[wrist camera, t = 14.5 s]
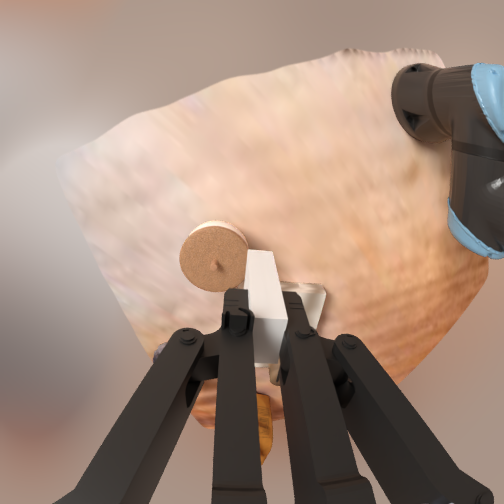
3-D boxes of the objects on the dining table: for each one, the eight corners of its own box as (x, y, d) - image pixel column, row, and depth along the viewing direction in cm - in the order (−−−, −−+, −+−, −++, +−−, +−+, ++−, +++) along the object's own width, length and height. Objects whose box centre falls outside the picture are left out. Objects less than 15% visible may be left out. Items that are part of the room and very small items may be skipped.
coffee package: (218, 405, 69) (215, 474, 49) (243, 384, 65) (245, 461, 45) (248, 415, 72) (250, 480, 52) (274, 395, 68) (282, 467, 48)
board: (321, 284, 53) (326, 294, 50) (301, 356, 61) (303, 367, 58) (238, 278, 52) (238, 288, 48) (231, 354, 60) (231, 365, 57)
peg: (285, 315, 56) (296, 370, 42) (281, 330, 57) (291, 386, 44) (265, 314, 55) (271, 370, 42) (262, 330, 57) (268, 385, 44)
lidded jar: (260, 228, 48) (264, 252, 39) (233, 277, 52) (231, 308, 43) (202, 201, 45) (193, 219, 37) (179, 254, 49) (167, 281, 41)
